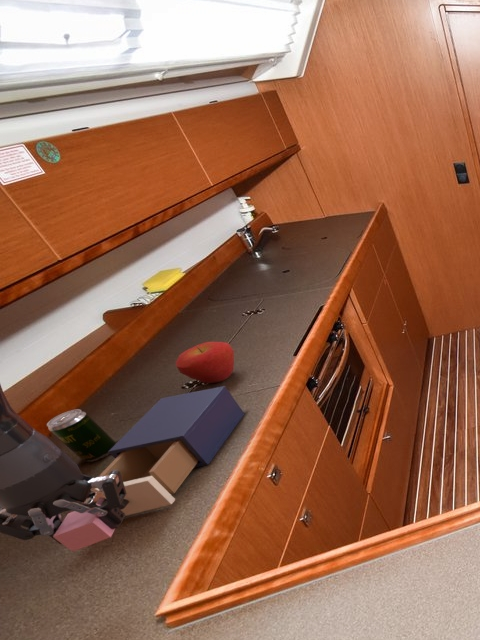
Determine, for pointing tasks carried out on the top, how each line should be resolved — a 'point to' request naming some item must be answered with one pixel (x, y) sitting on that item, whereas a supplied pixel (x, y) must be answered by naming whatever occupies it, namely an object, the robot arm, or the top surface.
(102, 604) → the top surface
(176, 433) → the cabinet
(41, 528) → the robot arm
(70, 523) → the block
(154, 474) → the drawer
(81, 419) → the beer can
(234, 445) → the top surface
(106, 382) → the top surface
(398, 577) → the top surface
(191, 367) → the apple
